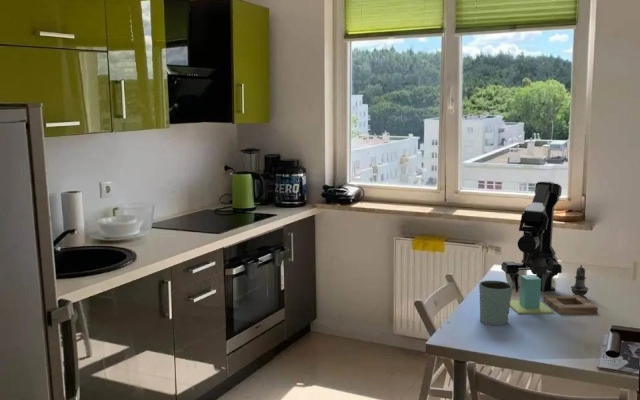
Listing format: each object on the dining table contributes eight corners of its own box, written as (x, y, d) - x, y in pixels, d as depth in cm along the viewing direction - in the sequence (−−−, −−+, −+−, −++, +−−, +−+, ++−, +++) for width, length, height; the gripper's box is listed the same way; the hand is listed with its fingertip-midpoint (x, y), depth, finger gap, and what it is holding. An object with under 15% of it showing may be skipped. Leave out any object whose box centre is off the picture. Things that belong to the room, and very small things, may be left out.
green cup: (474, 323, 200) (475, 286, 198) (481, 313, 209) (483, 278, 207) (506, 328, 196) (508, 290, 194) (513, 318, 204) (515, 282, 203)
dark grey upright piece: (584, 295, 229) (587, 263, 227) (590, 300, 223) (592, 267, 221) (568, 294, 229) (570, 262, 227) (572, 299, 223) (575, 266, 222)
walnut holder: (543, 301, 222) (543, 295, 222) (579, 300, 223) (579, 295, 222) (558, 313, 209) (559, 307, 209) (597, 313, 210) (597, 307, 209)
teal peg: (519, 303, 217) (520, 275, 216) (533, 303, 218) (535, 275, 216) (524, 308, 212) (526, 279, 211) (539, 308, 213) (541, 279, 211)
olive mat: (505, 302, 221) (505, 300, 221) (539, 301, 221) (539, 300, 221) (518, 313, 209) (518, 312, 209) (553, 313, 209) (553, 311, 209)
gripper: (513, 253, 203) (511, 299, 206) (570, 252, 204) (567, 299, 207) (501, 245, 214) (499, 289, 217) (556, 244, 215) (553, 288, 218)
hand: (529, 292), depth 214 cm, fingers open, 9 cm apart
